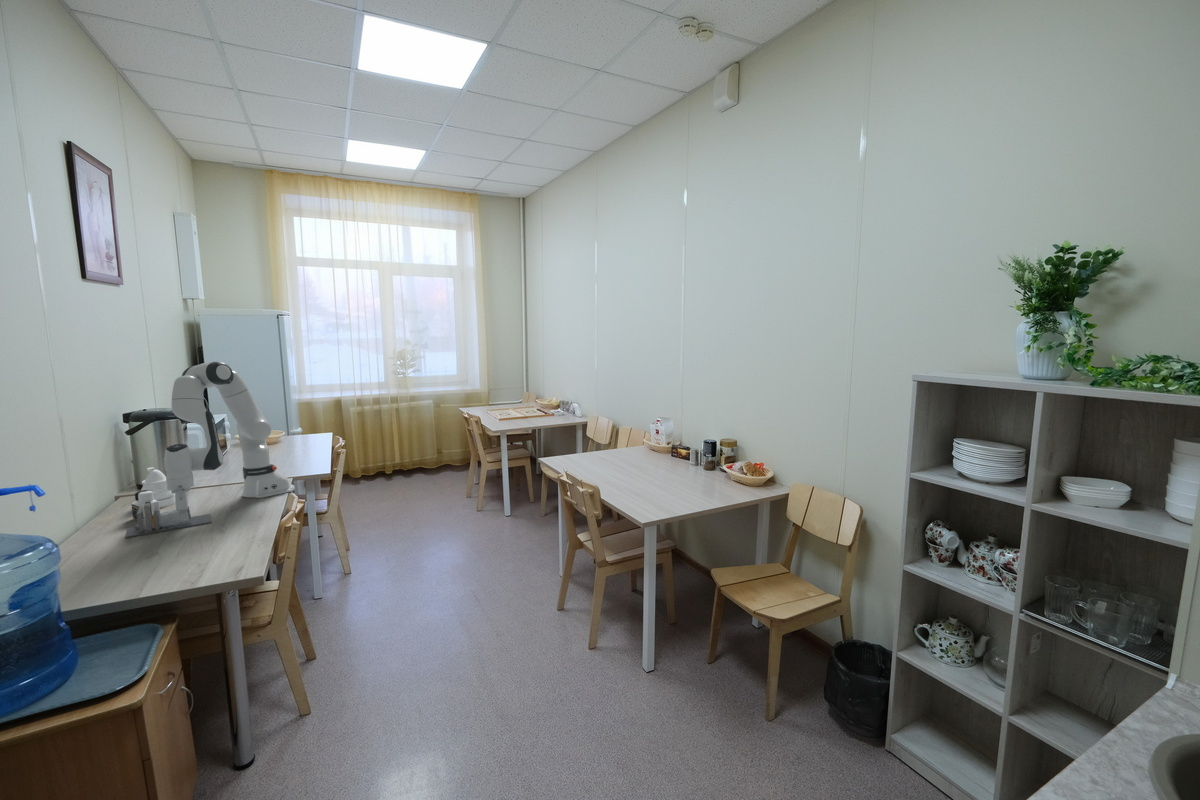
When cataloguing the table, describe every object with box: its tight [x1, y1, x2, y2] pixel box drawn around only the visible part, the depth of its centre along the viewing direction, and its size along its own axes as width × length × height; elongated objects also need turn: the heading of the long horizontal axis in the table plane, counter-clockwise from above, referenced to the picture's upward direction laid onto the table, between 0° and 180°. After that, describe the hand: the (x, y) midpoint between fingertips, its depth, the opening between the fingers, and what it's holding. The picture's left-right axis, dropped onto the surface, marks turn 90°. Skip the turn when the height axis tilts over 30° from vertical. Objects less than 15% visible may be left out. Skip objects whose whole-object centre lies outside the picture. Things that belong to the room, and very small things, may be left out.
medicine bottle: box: [131, 490, 161, 521], centre depth 222 cm, size 7×7×12 cm
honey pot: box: [140, 466, 176, 508], centre depth 239 cm, size 13×13×18 cm
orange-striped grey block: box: [142, 505, 192, 531], centre depth 213 cm, size 16×4×4 cm, turn 129°
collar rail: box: [125, 500, 213, 539], centre depth 213 cm, size 27×12×11 cm, turn 128°
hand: (183, 515), depth 216 cm, fingers closed on orange-striped grey block, 4 cm apart
